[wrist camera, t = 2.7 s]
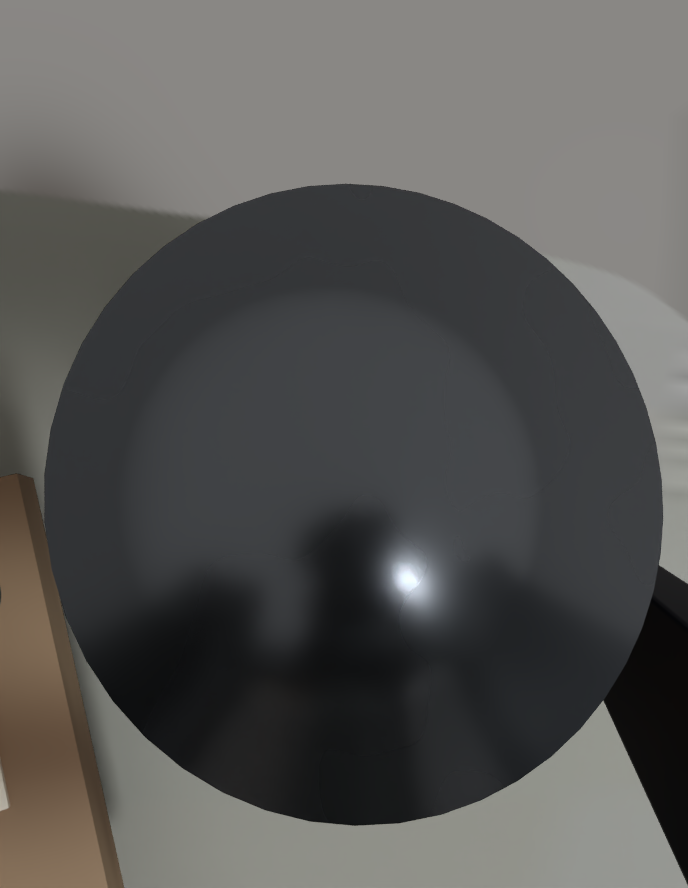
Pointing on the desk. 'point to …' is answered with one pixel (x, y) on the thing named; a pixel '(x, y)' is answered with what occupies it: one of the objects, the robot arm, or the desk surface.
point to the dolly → (43, 722)
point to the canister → (353, 504)
